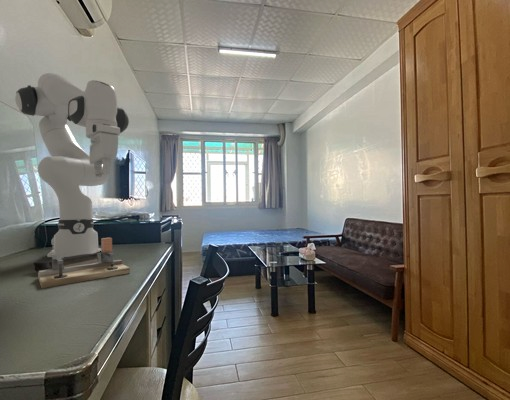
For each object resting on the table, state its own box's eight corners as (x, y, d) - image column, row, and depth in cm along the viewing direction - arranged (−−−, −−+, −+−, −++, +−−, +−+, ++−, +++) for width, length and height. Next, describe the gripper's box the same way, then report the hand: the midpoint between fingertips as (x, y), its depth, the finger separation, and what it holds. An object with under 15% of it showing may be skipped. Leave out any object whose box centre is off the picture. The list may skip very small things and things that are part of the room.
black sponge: (48, 276, 77) (48, 263, 77) (31, 273, 80) (31, 260, 80) (101, 264, 92) (101, 253, 92) (84, 262, 95) (84, 251, 95)
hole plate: (38, 278, 73) (38, 258, 73) (117, 266, 86) (117, 249, 86) (41, 288, 64) (41, 265, 64) (129, 273, 77) (129, 253, 77)
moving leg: (101, 263, 81) (100, 238, 81) (109, 262, 83) (109, 237, 83) (107, 267, 75) (107, 240, 76) (117, 266, 77) (116, 239, 77)
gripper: (84, 137, 91) (84, 178, 91) (98, 123, 76) (98, 172, 76) (104, 140, 96) (105, 178, 95) (122, 127, 80) (122, 173, 80)
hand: (102, 175), depth 85 cm, fingers open, 8 cm apart
